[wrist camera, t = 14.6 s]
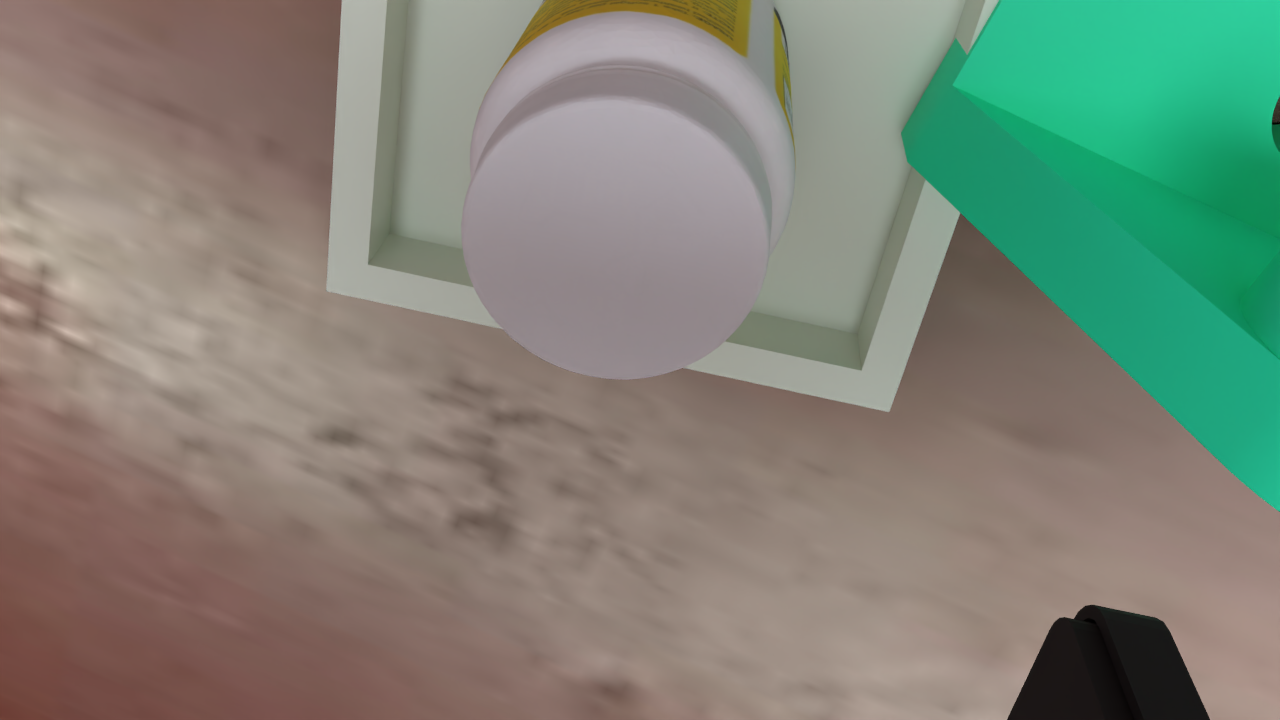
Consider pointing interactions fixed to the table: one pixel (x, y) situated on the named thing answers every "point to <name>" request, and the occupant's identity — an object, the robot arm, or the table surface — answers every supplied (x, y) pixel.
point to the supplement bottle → (631, 180)
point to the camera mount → (1133, 192)
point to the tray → (821, 207)
